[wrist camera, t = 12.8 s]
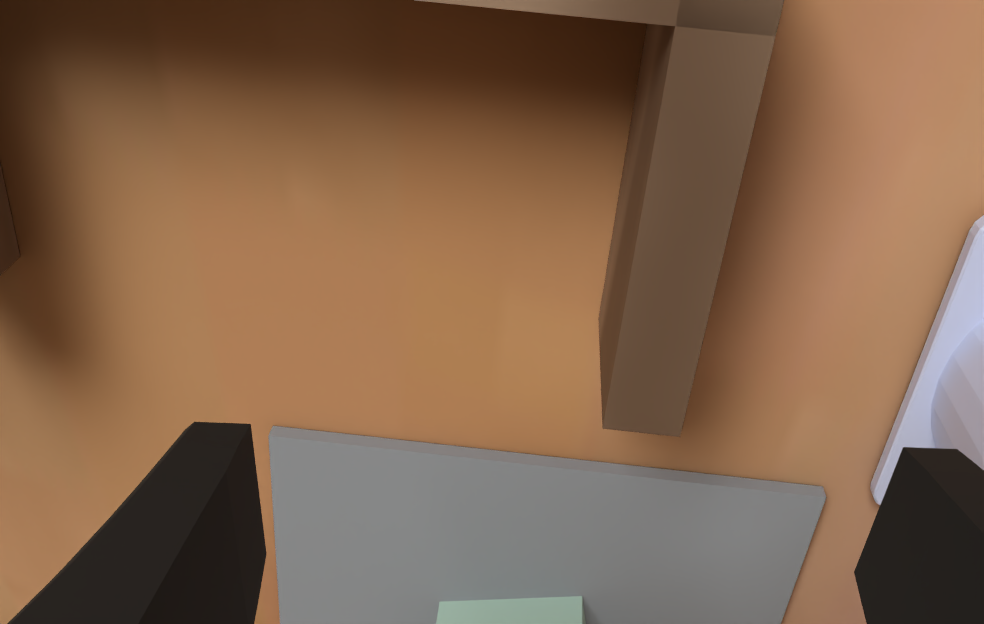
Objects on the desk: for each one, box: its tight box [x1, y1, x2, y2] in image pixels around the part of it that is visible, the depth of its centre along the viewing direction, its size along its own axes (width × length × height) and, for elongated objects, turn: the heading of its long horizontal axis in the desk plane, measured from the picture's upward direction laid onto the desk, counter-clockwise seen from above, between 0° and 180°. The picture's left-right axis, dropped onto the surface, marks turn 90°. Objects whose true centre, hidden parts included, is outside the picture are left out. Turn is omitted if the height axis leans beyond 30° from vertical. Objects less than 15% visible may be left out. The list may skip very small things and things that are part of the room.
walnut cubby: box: [0, 0, 784, 437], centre depth 18 cm, size 16×9×4 cm, turn 85°
